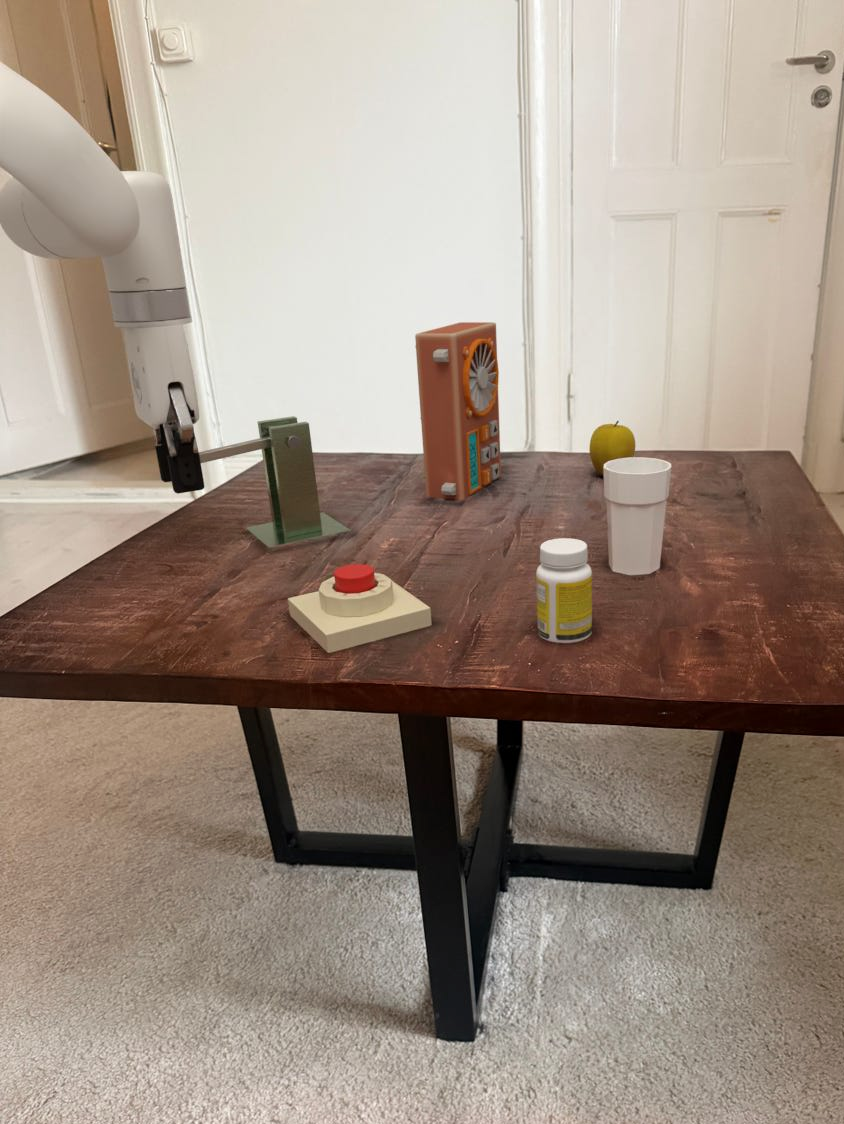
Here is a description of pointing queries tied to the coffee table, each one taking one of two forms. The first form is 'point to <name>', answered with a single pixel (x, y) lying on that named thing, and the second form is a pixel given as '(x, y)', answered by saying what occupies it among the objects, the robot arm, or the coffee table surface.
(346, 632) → the button block
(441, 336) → the control panel
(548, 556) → the supplement bottle
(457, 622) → the coffee table surface
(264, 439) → the lever
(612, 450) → the apple
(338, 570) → the button
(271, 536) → the bracket
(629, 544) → the cup
